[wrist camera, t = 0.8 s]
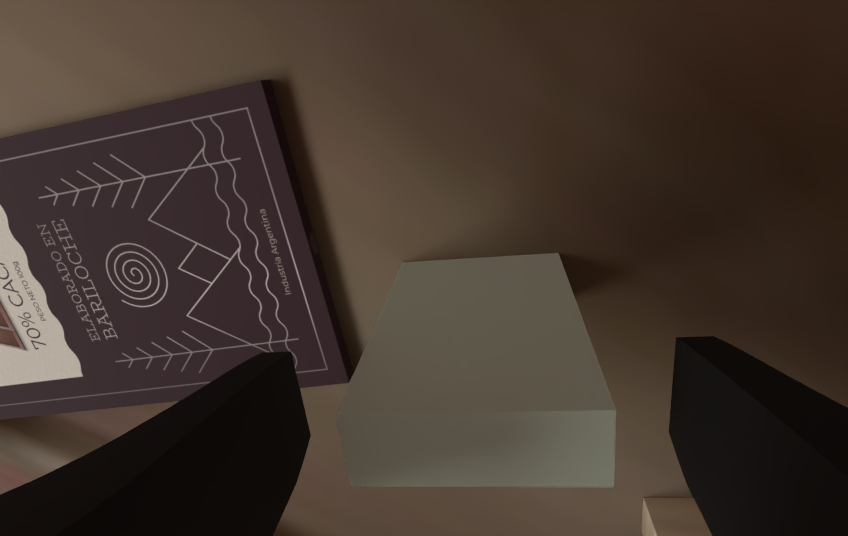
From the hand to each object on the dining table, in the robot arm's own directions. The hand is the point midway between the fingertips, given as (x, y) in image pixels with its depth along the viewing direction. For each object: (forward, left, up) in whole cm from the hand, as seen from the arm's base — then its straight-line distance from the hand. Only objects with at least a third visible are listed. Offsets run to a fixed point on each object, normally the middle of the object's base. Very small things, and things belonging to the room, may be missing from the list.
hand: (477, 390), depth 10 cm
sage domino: (0, 0, -5) cm, 5 cm away
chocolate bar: (-12, +7, -6) cm, 15 cm away
